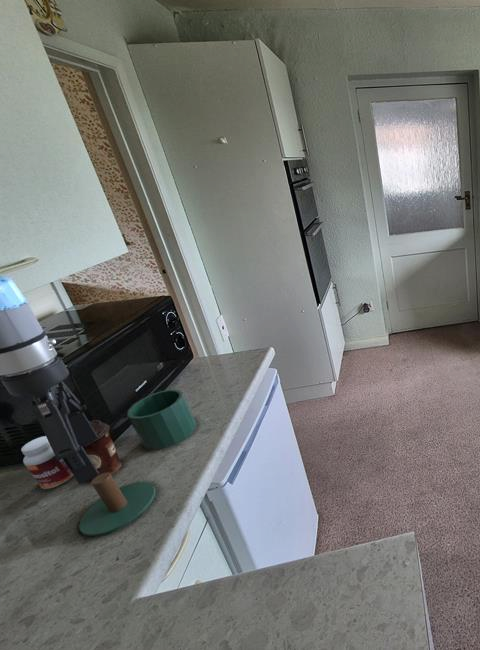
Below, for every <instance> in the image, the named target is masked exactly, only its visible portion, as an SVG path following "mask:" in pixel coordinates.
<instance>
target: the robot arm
mask: <svg viewBox="0 0 480 650" xmlns="http://www.w3.org/2000/svg"><path fill="white" fill-rule="evenodd" d="M48 338H49V337H48V336H47V334H46V331H45V330H44V329H43V328H42V326H41V324H40V322H39V320H38V319H37V317H36V315H35V314H34V311H33V310H32V308H31V306H30V303H29V302H28V297H26V296H25V295H24V294H23V293H22V292H21V290H20V289H19V287H18V286H17V285H16V283H15V282H14V280H13V279H12V278H10V277H8V276H5V275H0V381H1V383H2V385H3V386H4V387H5V389H6V390H7V392H8V393H9V394H10V395H11V396H14V397H24V396H31V397H32V398H33V400H31V405H32V406H31V413H33V414H34V416H35V418H36V419H37V421H38V423H39V425H40V427H41V429H42V431H43V433H44V435H45V436H46V437H47V439H48V441H49V444H50V446H51V448H52V450H53V452H54V454H55V456H53V459H54V460H61V459H63V460H64V462H65V463H66V465H67V466H68V468H69V469H70V471H71V472H72V474H73V477H74V478H75V480H76V481H77V482H78V484H82V483H84V482H86V481H88V480H89V479H91V478H93V477H95V476H97V475H99V472H98V470H97V469H96V467H95V466H94V464H93V463H92V461H91V460H90V458H89V456H88V455H87V453H86V452H85V450H84V449H83V447H82V446H79V445H78V442H79V443H80V445H83V444H86V443H88V442H91V441H93V440H95V439H98V436H97V434H96V433H95V431H94V429H93V428H92V426H91V424H90V423H89V421H90V420H89V419H88V418H87V416H86V414H85V413H84V411H85V410H87V409H88V408H87V406H86V404H85V403H84V404H81V401H80V400H79V399H78V397H77V396H76V395H75V394H74V393H73V392H72V390H71V389H70V388H69V387H68V385H66V384H65V382H64V381H65V380H66V379H67V378H68V377H69V375H70V371H69V369H68V368H67V366H66V365H65V363H64V360H62V358H61V357H60V356H57V355H58V352H57V350H56V349H55V347H54V345H56V344H57V340H56V339H54V338H51V339H48ZM76 439H77V440H78V442H77V440H76Z"/></svg>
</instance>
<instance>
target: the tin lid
mask: <svg viewBox="0 0 480 650" xmlns="http://www.w3.org/2000/svg"><path fill="white" fill-rule="evenodd" d="M90 484H91V486H92V487H93V489H94V490H95V492H96V493H97V495H98V497H99V498H100V499H98V500H97V501H96V502H95V503H94V504H92V505H91V506H90V507H89V508H88V509H87V510H86V512H85V513H84V514H83V516H82V517H81V519H80V521H79V525H78V528H79V529H78V530H79V531H80V532H81V534H82V535H84V536H86V537H99V536H100V537H101V536H104V535H108V534H110V533H113V532H115V531H118V530H119V529H122V528H123V527H125V526H127V525H128V524H130V523H132V522H133V521H134V520H136V519H137V518H138V517H139V516H141V515H142V514H143V513H144V512H145V511H146V510H147V509H148V508H149V506H150V505H151V504H152V502H153V501H154V499H155V496H156V488H155V486H154V485H153V483H151V482H148V481H137V482H132V483H129V484H125V485H123V486H120V487H119V485H118V483H117V482H116V480H115V479H114V478H113V475H111V474H110V473H108V472H107V473H103V474H100V475H98V476H97V477H95V478H94V479H93V480H92V482H90Z"/></svg>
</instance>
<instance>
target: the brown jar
mask: <svg viewBox="0 0 480 650" xmlns="http://www.w3.org/2000/svg"><path fill="white" fill-rule="evenodd" d="M88 421H89V423H90V424H91V426H92V428H93V429H94V431H95V433H96V434H97V436H98V439H95V440H93V441H91V442H88V443H86V444H83V445H80V443H79V442H78V440H77V439H76V440H77V442H78V445H79V446H82V447H83V449H84V450H85V452H86V453H87V455H88V456H89V458H90V460H91V461H92V463H93V464H94V466H95V467H96V469H97V470H98V472H99V475H100V474H103V473H107V472H108V473H110V474H111V476H113V475H115V473H117V472H119V470H120V468H121V467H122V462H121V461H120V458H119V455H118V451H117V449H116V447H115V443H114V440H113V438H112V437H111V435H110V434H111V433H110V425H109V424H108V423H105V422H102V421H101V420H99V419H93V420H88ZM97 476H98V475H97ZM97 476H95V477H97ZM95 477H93V478H91V479H89V480H87V482H90V483H91V482H92V480H93V479H94V478H95Z"/></svg>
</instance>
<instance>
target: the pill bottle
mask: <svg viewBox="0 0 480 650" xmlns="http://www.w3.org/2000/svg"><path fill="white" fill-rule="evenodd" d="M20 451H21V453H22V454H23V455H24V457H23V459H22V462H23V464H24V466H25V467H26V469H27V470H28V471H29V473H30V474H31V476H32V478H33V479H34V480H35V481H36V483H37V484H38V485H39V487H40V488H41V489H42V490H49V489H53V488H55V487H58V486H60V485H61V484H64V483H66V482H67V481H69V480H70V479H71V478H72V477H74V475H73V474H72V472H71V471H70V469H69V468H68V466H67V465H66V463H65V462H64V460H63V459H61V460H54V459H53V456H55V454H54V452H53V450H52V448H51V446H50V444H49V441H48V439H47V437H46V435H45V436H43V435H42V436H40V437H37V438H35V439H32V440H31V441H28V442H27V443H25V444H24V445H23V446H22V447H21V449H20Z"/></svg>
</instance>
